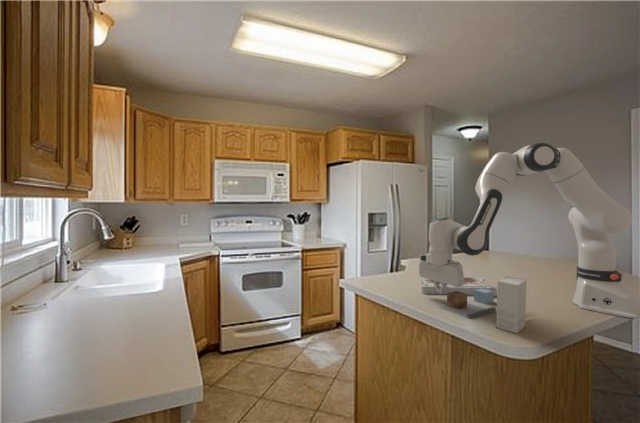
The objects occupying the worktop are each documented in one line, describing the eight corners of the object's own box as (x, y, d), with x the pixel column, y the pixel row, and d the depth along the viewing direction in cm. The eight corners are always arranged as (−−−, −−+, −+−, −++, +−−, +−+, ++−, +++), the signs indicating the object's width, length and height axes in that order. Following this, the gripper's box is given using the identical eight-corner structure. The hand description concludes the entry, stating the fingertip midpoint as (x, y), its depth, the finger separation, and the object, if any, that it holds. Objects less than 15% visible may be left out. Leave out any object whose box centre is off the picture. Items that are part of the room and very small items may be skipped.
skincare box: (505, 321, 115) (505, 275, 114) (527, 326, 110) (527, 279, 109) (495, 328, 109) (496, 280, 108) (518, 334, 104) (519, 283, 104)
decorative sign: (499, 298, 143) (474, 280, 172) (499, 288, 142) (474, 272, 172) (422, 296, 146) (410, 279, 176) (422, 287, 146) (410, 271, 175)
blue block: (493, 303, 134) (493, 291, 134) (485, 305, 132) (485, 293, 131) (482, 300, 138) (482, 288, 138) (473, 302, 136) (474, 290, 136)
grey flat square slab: (495, 313, 123) (495, 307, 123) (469, 320, 116) (469, 314, 116) (463, 302, 135) (463, 297, 135) (437, 308, 129) (437, 303, 129)
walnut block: (467, 307, 128) (467, 293, 128) (457, 309, 126) (458, 295, 126) (456, 303, 133) (456, 290, 132) (447, 305, 130) (447, 292, 130)
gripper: (468, 261, 128) (467, 298, 129) (427, 254, 146) (427, 286, 147) (456, 263, 125) (456, 300, 126) (416, 255, 143) (416, 288, 144)
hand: (440, 292), depth 136 cm, fingers closed
